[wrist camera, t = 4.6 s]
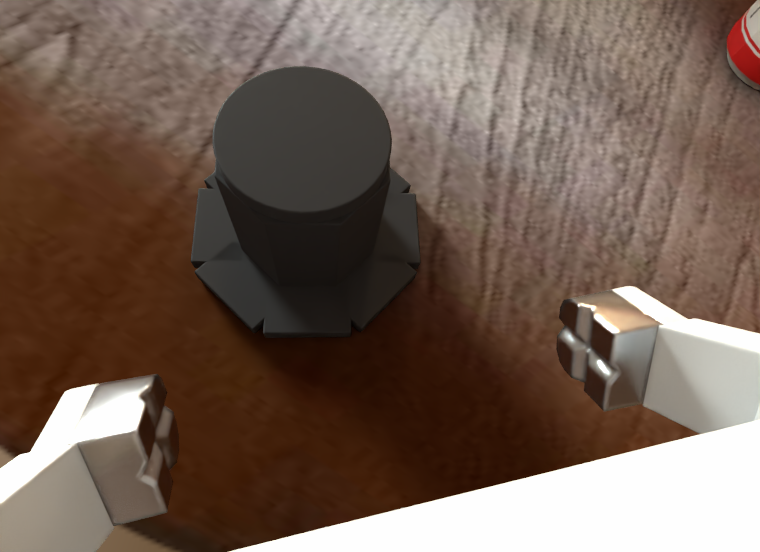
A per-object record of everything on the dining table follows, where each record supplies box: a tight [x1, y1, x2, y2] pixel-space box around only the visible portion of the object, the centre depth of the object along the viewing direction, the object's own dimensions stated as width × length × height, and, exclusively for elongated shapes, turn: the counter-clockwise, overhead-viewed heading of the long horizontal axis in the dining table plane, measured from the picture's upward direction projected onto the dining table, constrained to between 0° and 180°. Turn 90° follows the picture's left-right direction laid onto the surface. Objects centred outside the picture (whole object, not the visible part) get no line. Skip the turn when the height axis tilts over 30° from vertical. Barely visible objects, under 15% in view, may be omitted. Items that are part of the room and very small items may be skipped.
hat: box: [191, 66, 421, 338], centre depth 21 cm, size 11×11×8 cm
